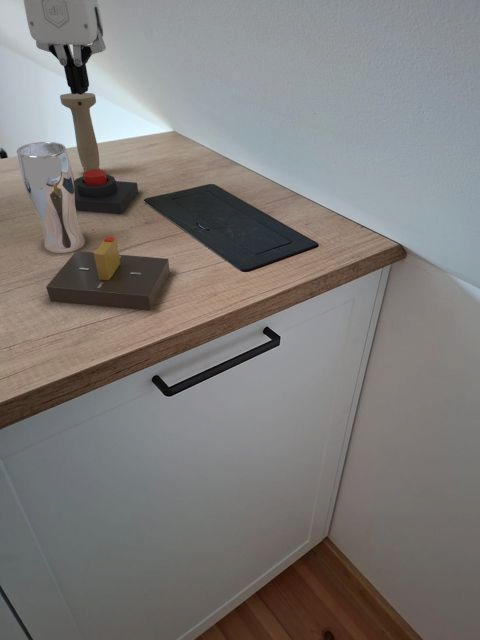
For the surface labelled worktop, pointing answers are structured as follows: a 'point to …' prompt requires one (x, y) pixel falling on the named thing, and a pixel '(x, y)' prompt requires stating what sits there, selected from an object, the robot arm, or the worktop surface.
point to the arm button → (94, 177)
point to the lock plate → (110, 282)
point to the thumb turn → (107, 258)
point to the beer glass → (52, 193)
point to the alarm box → (105, 196)
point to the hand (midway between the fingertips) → (80, 92)
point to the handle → (83, 127)
